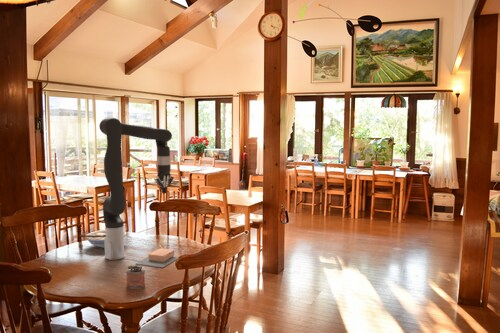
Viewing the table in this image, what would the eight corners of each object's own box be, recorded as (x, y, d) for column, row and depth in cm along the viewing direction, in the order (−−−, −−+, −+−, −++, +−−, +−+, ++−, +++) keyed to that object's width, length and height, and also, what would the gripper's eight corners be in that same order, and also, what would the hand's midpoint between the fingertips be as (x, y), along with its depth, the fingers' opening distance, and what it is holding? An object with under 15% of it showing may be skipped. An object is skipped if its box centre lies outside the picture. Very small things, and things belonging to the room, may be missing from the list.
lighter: (145, 285, 181) (145, 264, 180) (144, 288, 177) (143, 266, 176) (127, 285, 180) (127, 264, 179) (125, 288, 177) (125, 266, 176)
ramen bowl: (134, 241, 249) (134, 228, 248) (118, 253, 226) (118, 238, 226) (95, 240, 252) (95, 227, 251) (76, 251, 229) (75, 237, 228)
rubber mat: (162, 268, 203) (162, 267, 203) (135, 264, 208) (135, 263, 208) (178, 258, 218) (178, 257, 218) (153, 255, 223) (153, 254, 223)
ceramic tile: (174, 256, 220) (163, 262, 210) (159, 254, 223) (148, 260, 213) (174, 250, 220) (163, 256, 209) (159, 248, 223) (148, 254, 212)
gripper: (158, 165, 226) (159, 195, 228) (176, 163, 237) (177, 192, 238) (150, 164, 231) (151, 194, 233) (168, 162, 241) (169, 191, 243)
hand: (164, 193), depth 236 cm, fingers closed
